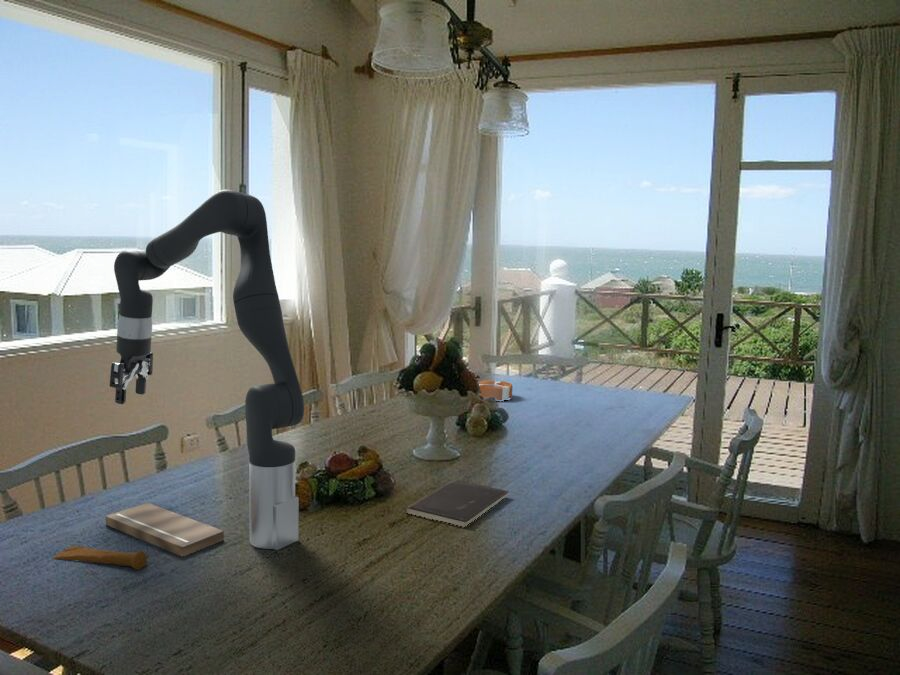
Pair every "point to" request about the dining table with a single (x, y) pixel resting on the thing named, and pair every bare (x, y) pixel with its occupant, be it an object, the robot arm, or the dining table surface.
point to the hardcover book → (457, 502)
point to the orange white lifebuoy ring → (496, 389)
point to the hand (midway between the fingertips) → (130, 398)
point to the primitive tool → (104, 556)
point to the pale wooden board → (165, 529)
